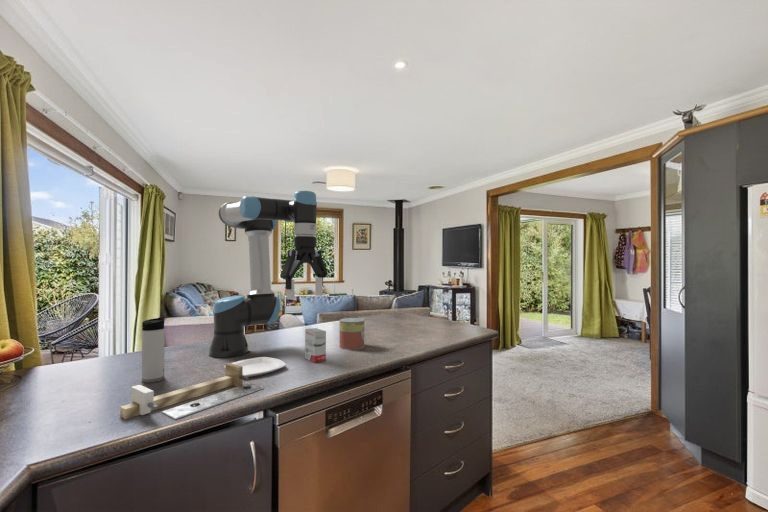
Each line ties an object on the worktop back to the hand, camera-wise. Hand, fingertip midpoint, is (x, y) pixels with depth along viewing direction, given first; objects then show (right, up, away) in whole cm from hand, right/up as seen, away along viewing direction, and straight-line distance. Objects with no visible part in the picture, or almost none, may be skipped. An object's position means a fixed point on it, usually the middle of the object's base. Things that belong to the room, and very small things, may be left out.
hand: (305, 297), depth 127 cm
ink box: (0, -26, +16) cm, 31 cm away
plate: (-19, -27, +4) cm, 33 cm away
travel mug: (-48, -26, -7) cm, 56 cm away
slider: (-34, -26, -34) cm, 54 cm away
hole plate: (-20, -26, -24) cm, 41 cm away
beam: (-27, -26, -24) cm, 44 cm away
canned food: (+13, -26, +37) cm, 48 cm away
